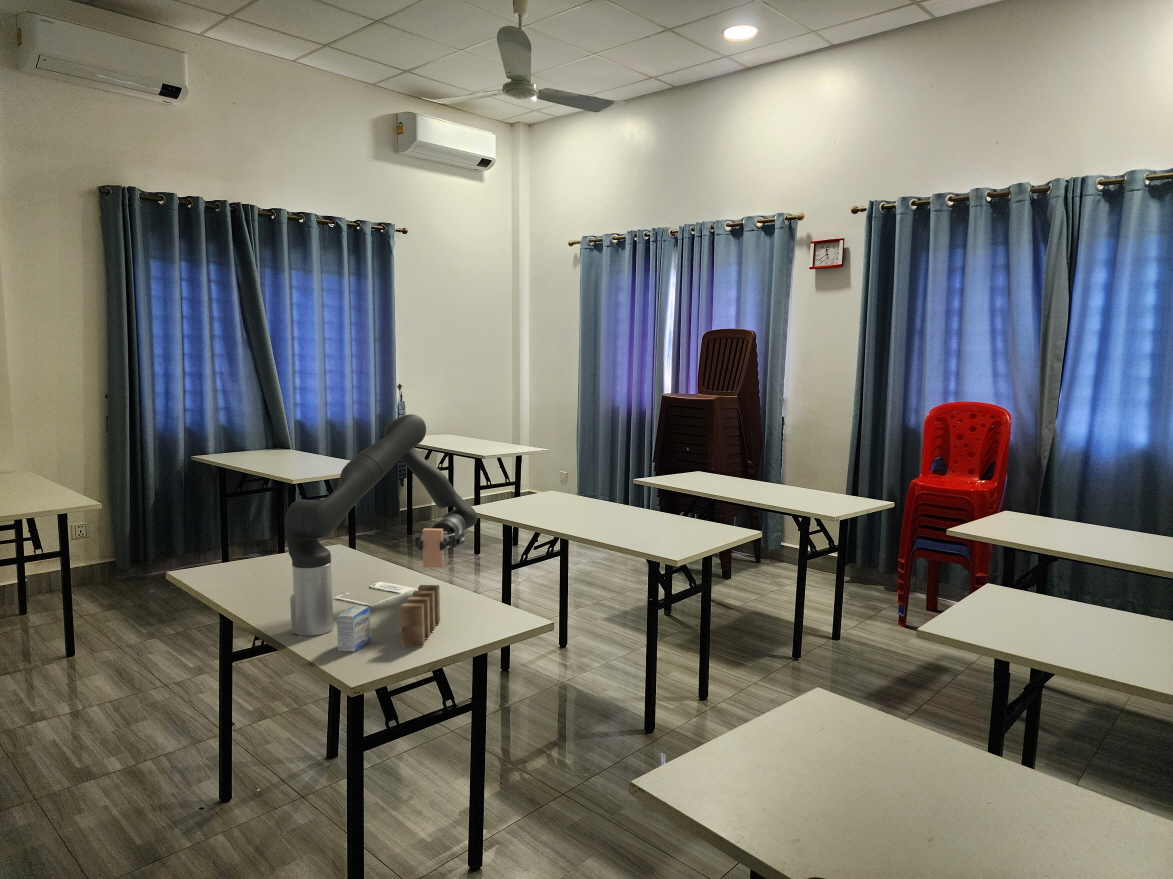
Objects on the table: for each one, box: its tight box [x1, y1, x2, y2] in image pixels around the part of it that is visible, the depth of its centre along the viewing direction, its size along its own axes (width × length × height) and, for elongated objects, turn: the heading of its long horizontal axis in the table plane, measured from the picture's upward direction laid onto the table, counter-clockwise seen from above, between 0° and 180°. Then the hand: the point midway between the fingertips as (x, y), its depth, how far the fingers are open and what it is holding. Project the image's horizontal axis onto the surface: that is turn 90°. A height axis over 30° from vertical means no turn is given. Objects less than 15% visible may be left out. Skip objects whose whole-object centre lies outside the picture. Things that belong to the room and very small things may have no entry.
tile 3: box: [412, 590, 436, 632], centre depth 188 cm, size 5×2×10 cm, turn 87°
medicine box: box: [336, 605, 371, 653], centre depth 178 cm, size 8×4×9 cm, turn 168°
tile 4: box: [406, 596, 431, 639], centre depth 183 cm, size 5×2×10 cm, turn 87°
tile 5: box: [400, 602, 426, 647], centre depth 178 cm, size 5×2×10 cm, turn 87°
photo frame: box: [334, 581, 417, 607], centre depth 218 cm, size 15×1×18 cm
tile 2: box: [417, 584, 441, 625], centre depth 193 cm, size 5×2×10 cm, turn 87°
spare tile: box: [421, 527, 445, 569], centre depth 196 cm, size 5×2×10 cm, turn 87°
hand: (430, 546), depth 194 cm, fingers closed on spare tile, 5 cm apart
